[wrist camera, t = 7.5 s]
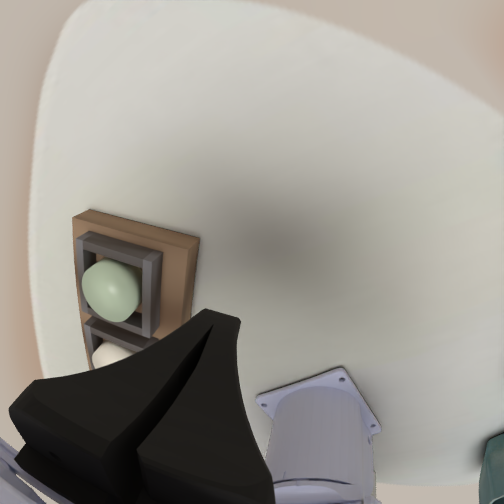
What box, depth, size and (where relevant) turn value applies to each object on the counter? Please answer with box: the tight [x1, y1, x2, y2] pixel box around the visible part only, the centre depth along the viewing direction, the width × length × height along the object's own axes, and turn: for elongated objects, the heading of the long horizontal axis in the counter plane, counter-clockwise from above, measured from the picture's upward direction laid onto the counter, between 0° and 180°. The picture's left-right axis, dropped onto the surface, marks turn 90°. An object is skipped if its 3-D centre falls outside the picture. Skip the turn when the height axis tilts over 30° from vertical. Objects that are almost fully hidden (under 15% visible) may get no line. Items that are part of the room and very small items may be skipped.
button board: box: [72, 210, 200, 370], centre depth 24 cm, size 21×9×4 cm, turn 169°
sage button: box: [82, 257, 143, 322], centre depth 19 cm, size 4×4×2 cm
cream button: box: [92, 340, 137, 369], centre depth 22 cm, size 4×4×2 cm
